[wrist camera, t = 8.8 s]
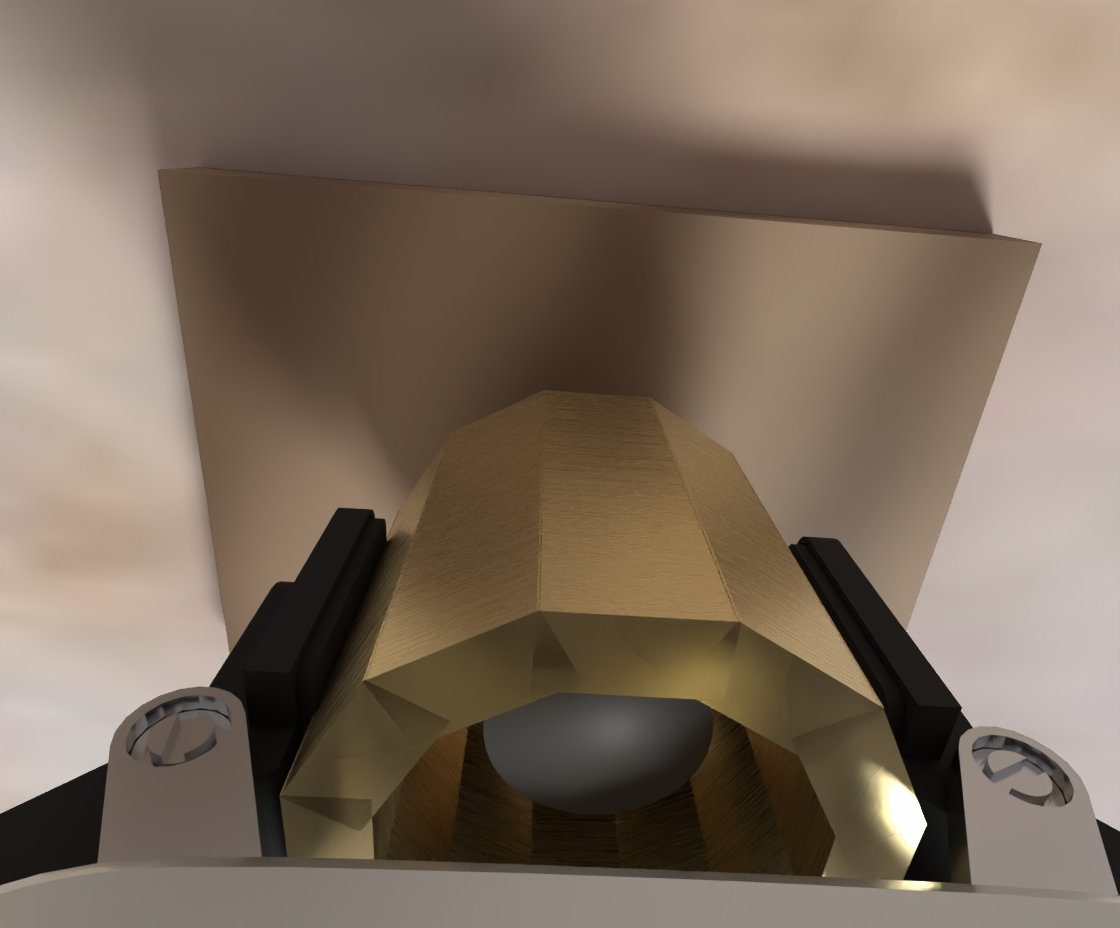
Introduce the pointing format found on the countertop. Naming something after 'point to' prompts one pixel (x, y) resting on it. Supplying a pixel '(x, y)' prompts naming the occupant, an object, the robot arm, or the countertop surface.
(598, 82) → the countertop surface
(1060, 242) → the countertop surface
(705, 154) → the countertop surface
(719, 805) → the wooden cup
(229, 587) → the post stand
